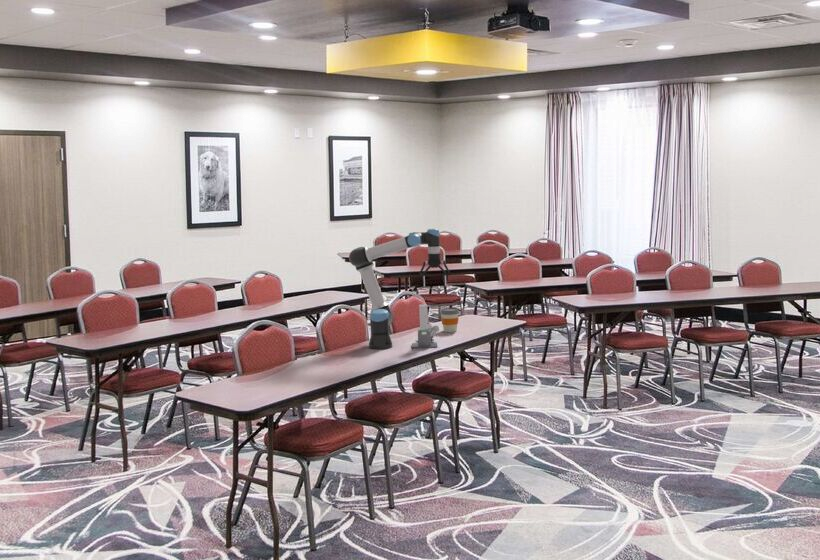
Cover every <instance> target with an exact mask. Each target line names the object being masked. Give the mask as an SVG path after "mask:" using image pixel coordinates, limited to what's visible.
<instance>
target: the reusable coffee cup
mask: <svg viewBox="0 0 820 560" xmlns="http://www.w3.org/2000/svg"><path fill="white" fill-rule="evenodd" d="M459 313H460V311H459V308H455V307H446V308H445V307H444V308H441V309H440V315H441V316H440V317H441V318H440V320H441V324H442V328H443V332H444V333H455V332H457V330H458V329H457V328H458V324H459Z"/></svg>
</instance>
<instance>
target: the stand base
mask: <svg viewBox="0 0 820 560" xmlns="http://www.w3.org/2000/svg"><path fill="white" fill-rule="evenodd" d="M431 340H432V339H431V332H430V329H428V331H423V332H420V329H417V342H412V343H411V349H431V348H432V349H435V348H438V342H437V341H434V342H432V341H431Z"/></svg>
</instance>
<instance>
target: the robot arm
mask: <svg viewBox="0 0 820 560" xmlns="http://www.w3.org/2000/svg"><path fill="white" fill-rule="evenodd" d="M440 239H441V237H440V230H439V229H438V228H428V229H427V231H425V232H422V231H421V232H409V233H408V235H406V236H403V237H399V238H397V239H393V240H390V241H387V242H383V243H381V244H377V245H375V246H371V247H365V246H360V247H357V248H354V249H352V250H351V251H350V253H349V255H348V260H349V263H350V264H351V265H352V266H354V267H355V269H356V271H357V272H359V274H360V277H361V279H362V282H363V284H364V287H365V291H366V293H367V295H368V298H369V300H370V304H371V306H372V307H371V310H370V313H369V321H370V324H369V325H370V337H369V342H368V348H369V349H372V350H385V349H390V348H392V347H393V341H392V338H391V336H390V325H391V324H392V323H393V321H394V317H395V316H394V312H393V310H392V309H391V308H390V306H389V304H388V303H387V302H386V301H385V299H384V295H383V293H382V290H381V287H380V284H379V282H378V279H377V276H376V275H375V271H374V268H373V267H374V265H375V264H374V262H373V260H376V259H378V258H382V257H385V256H388V255H391V254H395V253H397V252H400V251H404V250H407V249H411V248H413V247H414V248H415V247H417V246H419V245H427V257H428V258H427V259H428V260H423V264H422V266H421V268H420V271H419V273H418V276H420V277H421V282H423V287H426V278H425V277H426V276H425V275H426V273H427V272H428V271H429V270H430V269H431V268H432V269H434V268H435V269H436V268H439V270H440V271H441V272H442V273H443V274H444V286H445V287H447V281H449V276H450V275H451V271H450V269H449V268H448V266H447V264H446V261H445V259H443V260H441V249H440V248H441V246H440V244H441V243H440ZM427 264H428V266H427V267H426V265H427ZM441 264H442V265H443V266H444V268H445V269H444V268H443V267H442V266H441ZM425 267H426V269H425V270H424V268H425ZM423 271H424V272H423Z"/></svg>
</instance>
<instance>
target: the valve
mask: <svg viewBox="0 0 820 560" xmlns="http://www.w3.org/2000/svg"><path fill="white" fill-rule="evenodd" d="M428 329H430V332H431V340H432V339H433V338H434V337H435V336H436V334H437V332H439V331H440V327H439V326H438V325H437V324H436V325H434V326H433V325H432V324H431V323H428Z"/></svg>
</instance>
